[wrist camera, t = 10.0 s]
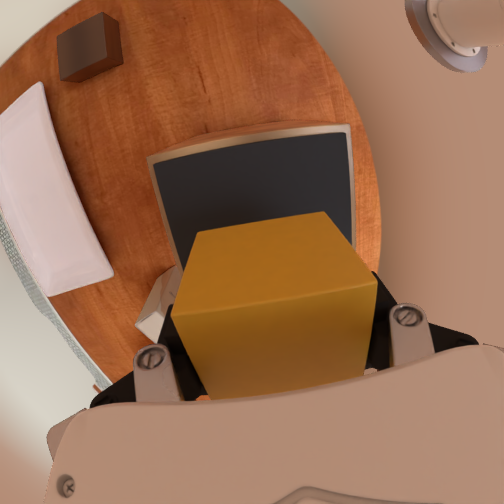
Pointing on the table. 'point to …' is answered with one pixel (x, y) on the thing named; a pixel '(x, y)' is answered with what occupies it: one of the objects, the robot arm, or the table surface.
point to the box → (158, 303)
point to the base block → (89, 48)
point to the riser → (242, 137)
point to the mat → (256, 185)
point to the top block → (275, 307)
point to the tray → (45, 200)
